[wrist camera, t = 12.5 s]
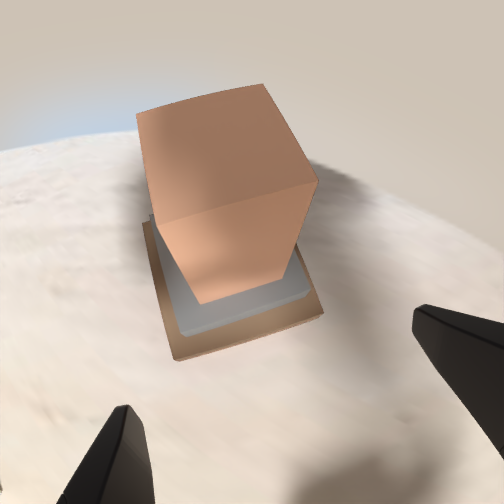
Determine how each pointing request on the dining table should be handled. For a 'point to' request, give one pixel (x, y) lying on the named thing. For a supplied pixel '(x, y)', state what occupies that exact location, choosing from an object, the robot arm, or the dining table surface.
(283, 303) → the tower top slab
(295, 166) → the terracotta block
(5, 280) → the dining table surface
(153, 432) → the dining table surface
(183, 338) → the tower base slab
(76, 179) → the dining table surface
